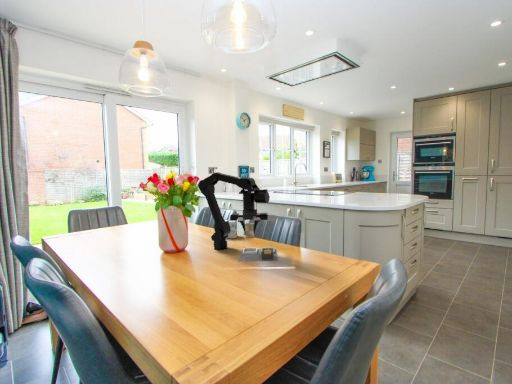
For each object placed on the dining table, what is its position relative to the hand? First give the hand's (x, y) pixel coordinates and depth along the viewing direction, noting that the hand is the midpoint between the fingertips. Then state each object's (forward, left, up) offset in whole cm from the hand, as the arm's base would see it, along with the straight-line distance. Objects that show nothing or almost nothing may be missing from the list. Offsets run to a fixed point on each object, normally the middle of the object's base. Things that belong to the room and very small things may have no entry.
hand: (249, 233), depth 132 cm
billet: (0, 0, -2) cm, 2 cm away
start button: (+9, -9, -9) cm, 16 cm away
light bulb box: (-17, +35, -11) cm, 40 cm away
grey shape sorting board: (+4, -4, -10) cm, 12 cm away
